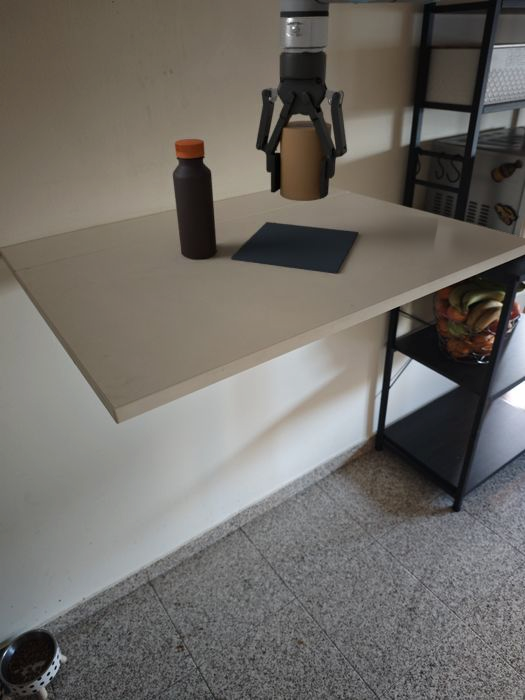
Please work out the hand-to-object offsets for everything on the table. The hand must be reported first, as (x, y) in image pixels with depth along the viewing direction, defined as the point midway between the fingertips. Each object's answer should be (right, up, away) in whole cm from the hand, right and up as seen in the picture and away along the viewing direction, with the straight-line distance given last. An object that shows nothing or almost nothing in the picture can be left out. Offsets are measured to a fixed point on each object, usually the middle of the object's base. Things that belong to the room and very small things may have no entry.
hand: (299, 193), depth 92 cm
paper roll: (+1, +6, -1) cm, 6 cm away
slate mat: (0, -9, +6) cm, 10 cm away
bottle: (-19, -10, +4) cm, 22 cm away
